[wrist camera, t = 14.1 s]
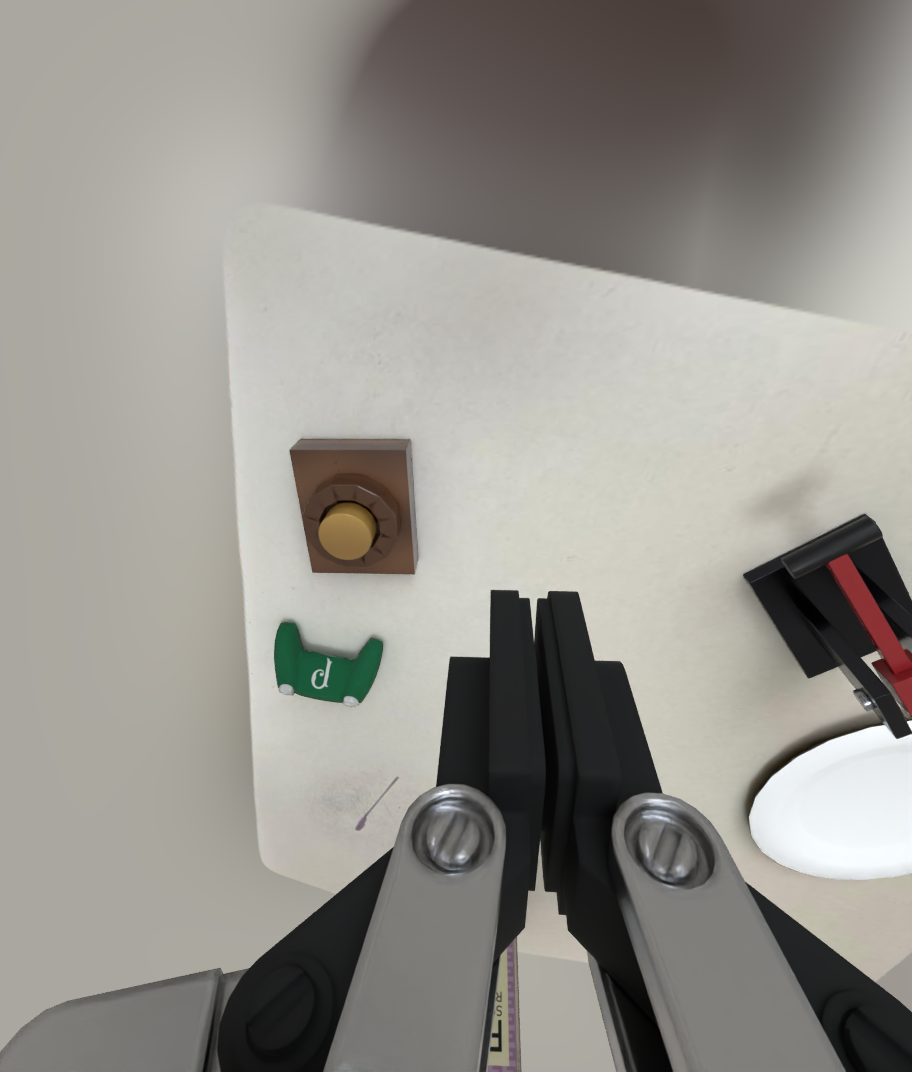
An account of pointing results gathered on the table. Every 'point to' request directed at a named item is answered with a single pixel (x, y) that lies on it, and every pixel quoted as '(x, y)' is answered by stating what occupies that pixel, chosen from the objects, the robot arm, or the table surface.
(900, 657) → the red t-handle lever
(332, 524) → the bell button
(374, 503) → the bell block
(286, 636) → the gaming controller
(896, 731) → the lever stand
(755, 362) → the table surface
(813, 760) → the plate
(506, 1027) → the box
